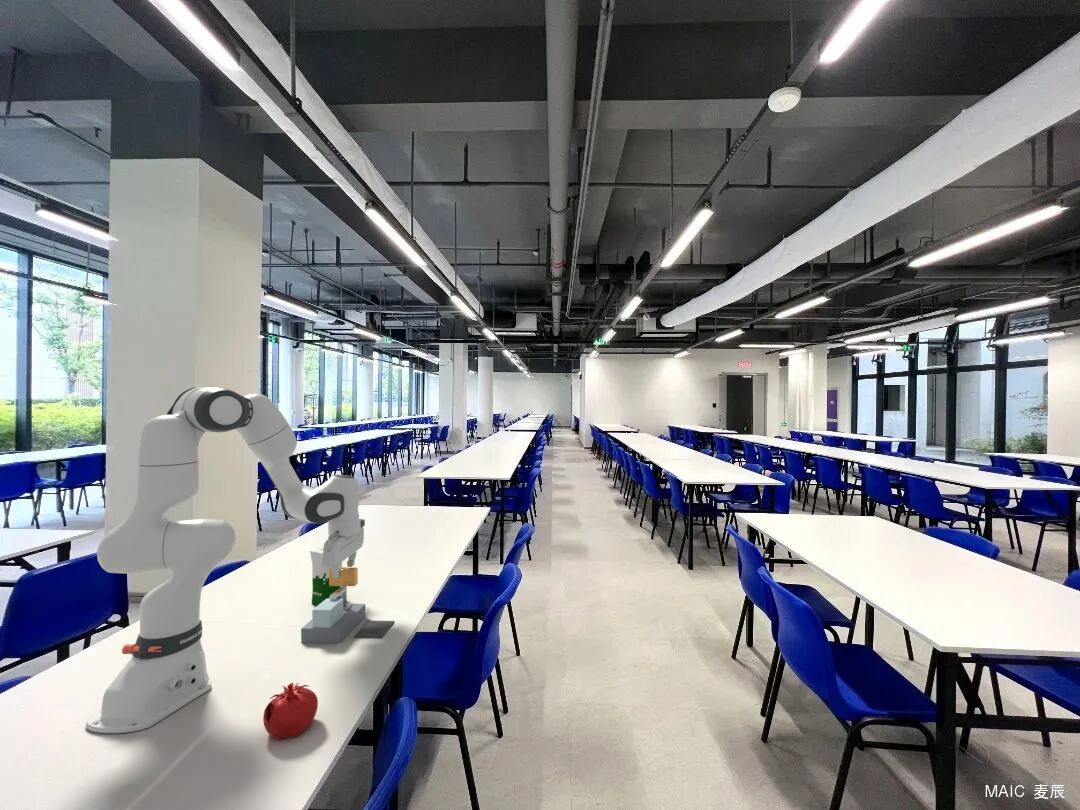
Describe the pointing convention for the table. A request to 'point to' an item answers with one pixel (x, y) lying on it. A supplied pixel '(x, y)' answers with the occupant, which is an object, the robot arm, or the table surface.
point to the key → (343, 582)
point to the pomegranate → (290, 712)
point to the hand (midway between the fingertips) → (344, 571)
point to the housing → (334, 626)
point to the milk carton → (320, 578)
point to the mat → (374, 629)
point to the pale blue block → (327, 613)
